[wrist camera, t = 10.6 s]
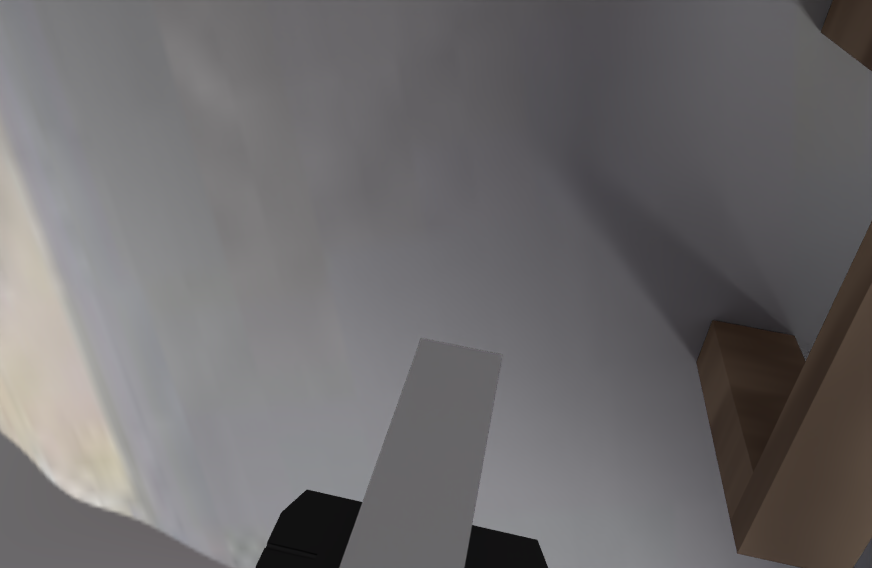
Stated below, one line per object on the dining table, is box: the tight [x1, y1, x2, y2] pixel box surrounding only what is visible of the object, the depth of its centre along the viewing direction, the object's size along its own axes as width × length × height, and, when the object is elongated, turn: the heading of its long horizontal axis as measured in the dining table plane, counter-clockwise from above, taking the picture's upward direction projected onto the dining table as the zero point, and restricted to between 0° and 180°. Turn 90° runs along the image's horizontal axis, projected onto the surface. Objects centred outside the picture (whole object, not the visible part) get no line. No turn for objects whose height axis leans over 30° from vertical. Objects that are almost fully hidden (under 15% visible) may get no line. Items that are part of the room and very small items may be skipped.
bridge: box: [696, 0, 872, 568], centre depth 21 cm, size 3×14×9 cm, turn 173°
